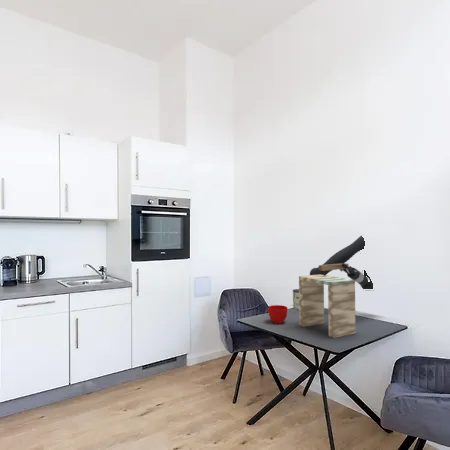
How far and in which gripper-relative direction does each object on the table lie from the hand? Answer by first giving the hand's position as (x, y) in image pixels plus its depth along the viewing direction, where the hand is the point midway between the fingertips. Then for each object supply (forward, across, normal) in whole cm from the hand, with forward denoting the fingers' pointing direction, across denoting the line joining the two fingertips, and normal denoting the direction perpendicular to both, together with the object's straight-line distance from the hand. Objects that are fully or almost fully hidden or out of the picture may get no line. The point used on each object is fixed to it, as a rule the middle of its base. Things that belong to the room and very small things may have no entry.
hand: (340, 264), depth 232 cm
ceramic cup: (+11, -23, +52) cm, 57 cm away
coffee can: (-22, -46, +32) cm, 60 cm away
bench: (-2, +7, +44) cm, 44 cm away
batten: (+3, 0, +5) cm, 6 cm away
